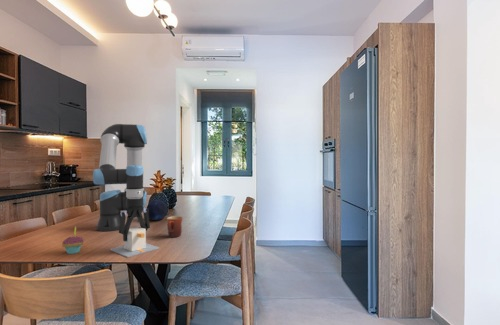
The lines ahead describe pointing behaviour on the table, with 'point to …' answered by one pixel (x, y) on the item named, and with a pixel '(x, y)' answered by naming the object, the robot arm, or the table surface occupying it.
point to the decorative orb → (157, 210)
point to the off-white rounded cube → (136, 238)
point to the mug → (174, 226)
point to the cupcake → (73, 243)
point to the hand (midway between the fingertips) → (134, 245)
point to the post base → (132, 253)
